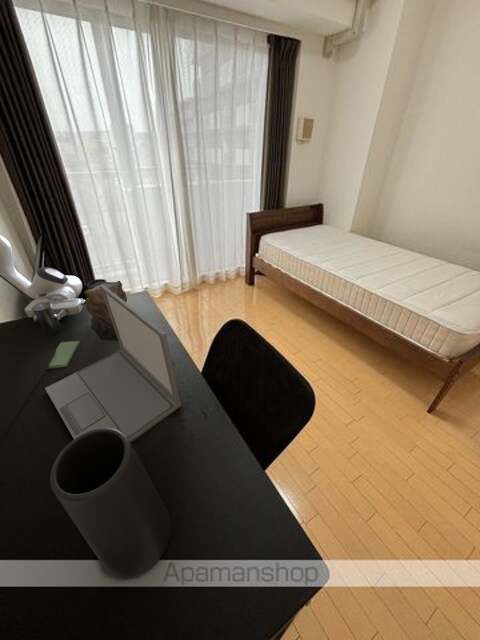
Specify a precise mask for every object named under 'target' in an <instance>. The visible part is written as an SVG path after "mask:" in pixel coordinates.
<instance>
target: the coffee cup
mask: <svg viewBox="0 0 480 640" xmlns="http://www.w3.org/2000/svg"><path fill="white" fill-rule="evenodd" d="M104 282H108V281H107V280H106V279H103V278H96V279H93V280H90V281H88V282H87V284H86V290H88V289H93V288H95V287H96V286H99V285H101V283H104Z"/></svg>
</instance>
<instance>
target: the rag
mask: <svg viewBox="0 0 480 640" xmlns="http://www.w3.org/2000/svg"><path fill="white" fill-rule="evenodd" d="M80 344H81V341H80V340H74V341H61V342H60V343H59V344H58V346H57V347H56V349H55V352H54V354H53V356H52V358H51V359H50V361H49V362H48V363H47V365H46V367H45V369H46V370H47V369H58V368H68V365H69V364H70V362H71V360H72V358H73V357H74V355H75V353H76V351H77V349H78V348H79V345H80Z"/></svg>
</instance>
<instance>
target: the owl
mask: <svg viewBox="0 0 480 640" xmlns="http://www.w3.org/2000/svg"><path fill="white" fill-rule="evenodd" d="M101 285H104V286H105V287H106V288H108V289H109V290H110V291H112V292H113V293H114V294H116V295H117V296H118V297H119V298H121V299H122V300H123V301H125V302H126V303H127V304H128V302H127V301H128V298H127V294H126V291H125V290H124V289H123V284H122V282H121V280H117V281H107V282H104V283H101ZM84 295H85V296H86V298H85V303H84V304H85V308H86V311H87V313H89V314H90V315H91V316H92V318H91V319H90V322H91V330H92V331H93V332H94V333H95V334H96V336H97V337H99V340H101V341H110V342H111V341H112V342H113V341H115V342H119V341H118V338H117V335H116V332H115V329H114V326H113V323H112V321H111V318H110V315H109V312H108V309H107V306H106V303H105V300H104V297H103V294H102V291H101V288H100V285H99V286H96V287H95V288H93V289H88V290H87V289H86V290H84Z"/></svg>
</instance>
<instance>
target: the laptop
mask: <svg viewBox="0 0 480 640" xmlns="http://www.w3.org/2000/svg"><path fill="white" fill-rule="evenodd" d="M100 288H101V291H102V294H103V297H104V300H105V303H106V306H107V309H108V312H109V315H110V318H111V321H112V323H113V326H114V329H115V332H116V335H117V338H118V341H117V342H118V344H119V347H120V349H119V350H118V351H115V352H114V353H111V354H109V355H108V356H106V357H103V358H101V359H99V360H98V361H95V362H93V363H91V364H89V365H88V366H86V367H84V368H82V369H79V370H78V371H76V372H74V373H72V374H70V375H68V376H66V377H64V378H62V379H60V380H58V381H57V382H54V383H52V384H50V385H49V386H46V387H45V388H44V389H45V391H46V393H47V394H48V397H49V398H50V400H51V402H52V404H53V405H54V408H55V409H56V410H57V412H58V414H59V416H60V417H61V419H62V421H63V422H64V425H65V426H66V428H67V430H68V432H69V433H70V435H71V436H72V438H73V440H74V439H75V438H77V437H78V436H80V435H82V434H84V433H86V432H88V431H91V430H94V429H98V428H113V429H116V430H119V431H121V432H122V433H123V434H124V435H125V436H126V437H127V438H128V440H129V442H130V443H131V444H132V442H133V441H135V440H136V439H138V438H139V437H141V436H142V435H143V434H144V433H146V432H148V431H149V430H150V429H152V428H153V427H155V426H156V425H157V424H159V423H160V422H162V421H163V420H164V419H165V418H167V417H168V416H169V415H171V414H172V413H174V412H176V410H178V409H180V408H181V407H182V402H181V397H180V394H179V389H178V385H177V380H176V374H175V370H174V365H173V360H172V356H171V351H170V346H169V342H168V336H167V333H166V332H165V331H164V330H162V329H161V328H160V327H159V326H158V325H156V324H155V323H153V322H152V321H151V320H150V319H148V318H147V317H146V316H144V315H143V314H142V313H140V312H139V311H138V310H137V309H135V308H134V307H133V306H131V305H130V304H129V303H128V302H127V303H126V302H125V301H123V300H122V299H121V298H119V297H118V296H117V295H116V294H114V293H113V292H112V291H110V290H109V289H108V288H106V287H105V286H104V285H100Z"/></svg>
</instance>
